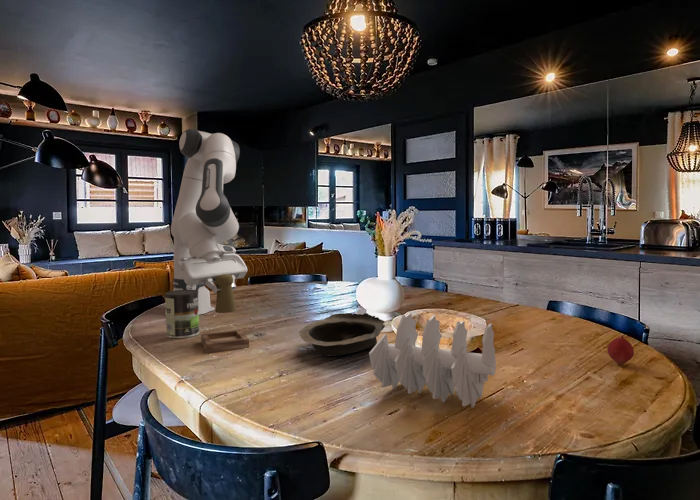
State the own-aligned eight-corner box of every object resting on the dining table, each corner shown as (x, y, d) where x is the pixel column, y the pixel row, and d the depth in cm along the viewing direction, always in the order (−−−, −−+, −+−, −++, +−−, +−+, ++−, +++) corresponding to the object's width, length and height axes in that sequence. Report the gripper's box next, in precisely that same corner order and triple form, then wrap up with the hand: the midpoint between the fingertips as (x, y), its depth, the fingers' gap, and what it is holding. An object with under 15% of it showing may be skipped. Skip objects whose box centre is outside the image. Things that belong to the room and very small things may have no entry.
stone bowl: (392, 341, 138) (392, 312, 136) (374, 376, 114) (374, 341, 113) (316, 334, 144) (315, 306, 143) (285, 366, 121) (284, 333, 119)
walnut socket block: (201, 342, 138) (200, 334, 138) (240, 337, 144) (240, 329, 143) (207, 353, 128) (207, 344, 127) (249, 347, 133) (248, 339, 133)
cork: (237, 311, 133) (235, 275, 132) (216, 313, 131) (214, 276, 130) (234, 307, 139) (233, 272, 138) (214, 309, 136) (212, 274, 135)
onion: (601, 362, 118) (603, 332, 118) (617, 359, 120) (619, 330, 120) (622, 369, 113) (623, 338, 112) (638, 366, 115) (639, 336, 114)
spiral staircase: (393, 395, 108) (500, 414, 95) (359, 387, 94) (479, 407, 81) (404, 321, 114) (506, 329, 101) (373, 302, 99) (487, 309, 87)
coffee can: (205, 330, 151) (204, 289, 150) (188, 339, 141) (187, 295, 140) (178, 329, 153) (176, 288, 152) (159, 337, 143) (157, 294, 142)
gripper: (178, 252, 130) (197, 288, 124) (238, 246, 145) (257, 279, 140) (172, 266, 134) (190, 302, 128) (231, 259, 149) (249, 291, 143)
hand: (225, 290), depth 134 cm, fingers closed on cork, 4 cm apart
